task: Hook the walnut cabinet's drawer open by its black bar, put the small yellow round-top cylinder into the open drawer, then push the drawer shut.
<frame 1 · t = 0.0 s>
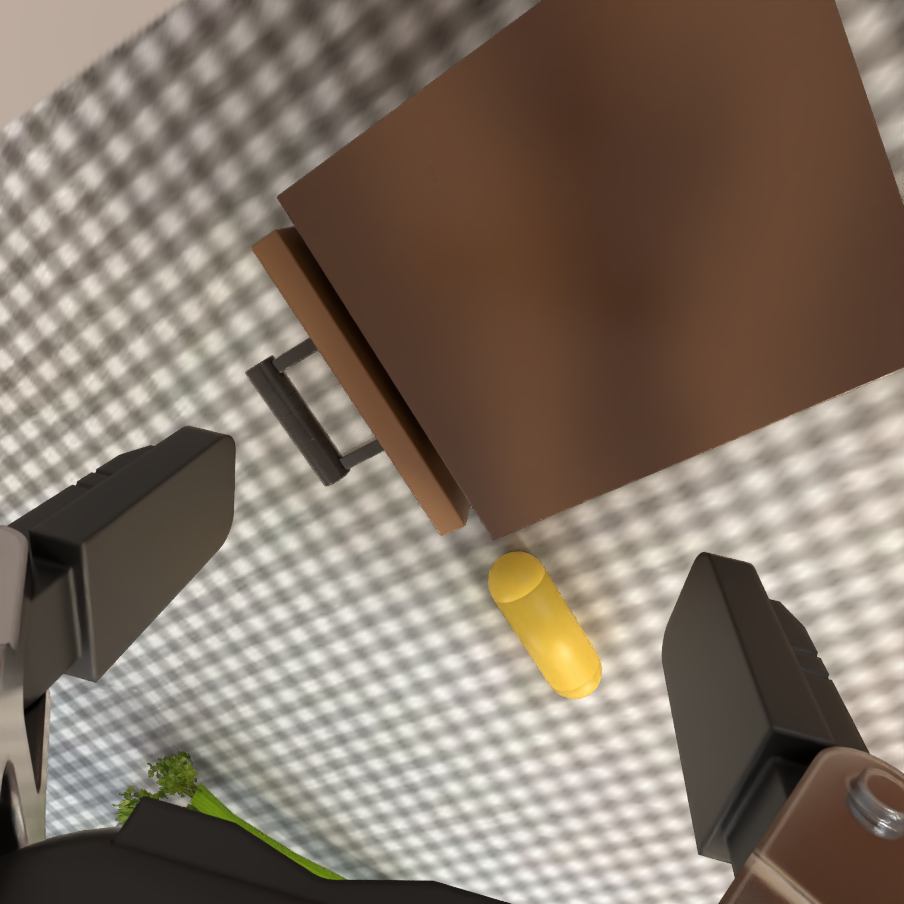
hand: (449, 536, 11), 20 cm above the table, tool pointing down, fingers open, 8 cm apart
cabinet: (591, 240, 27), on the table
celery stalk: (319, 839, 48), on the table
drawer: (477, 318, 25), point 5 cm above the table, slide at 1.0 cm
yellow round-top cylinder: (546, 607, 36), on the table
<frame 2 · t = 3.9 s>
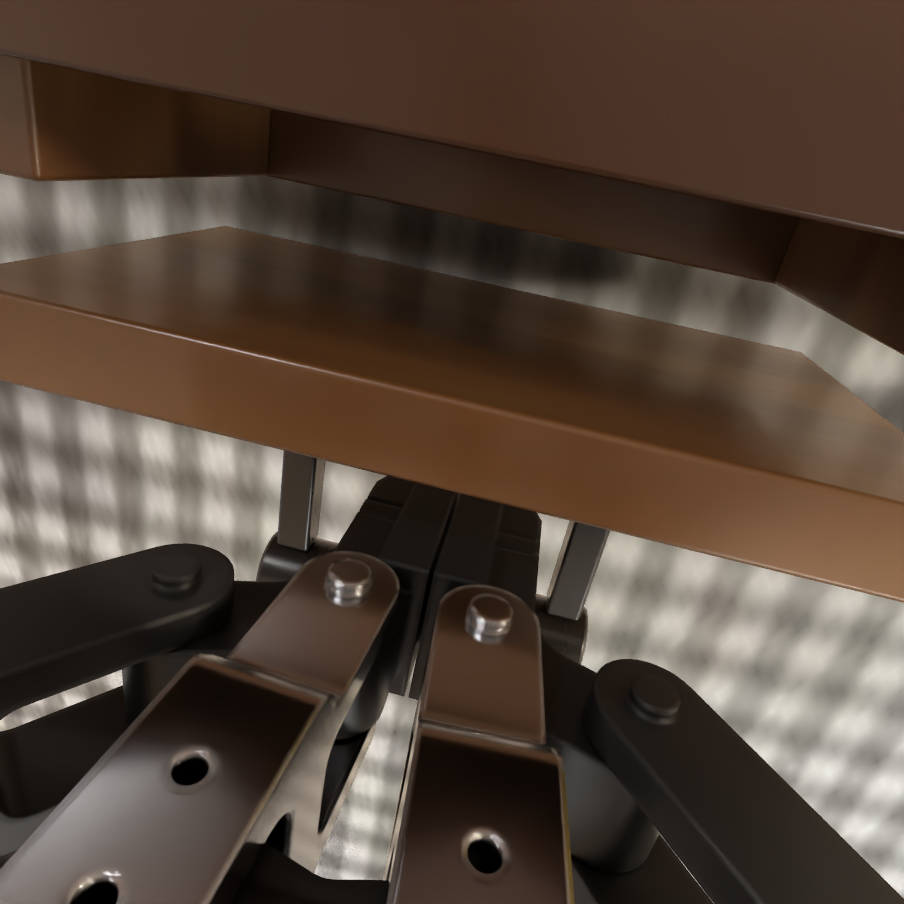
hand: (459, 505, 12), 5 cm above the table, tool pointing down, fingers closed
drawer: (537, 65, 9), point 5 cm above the table, slide at 2.5 cm, touching gripper
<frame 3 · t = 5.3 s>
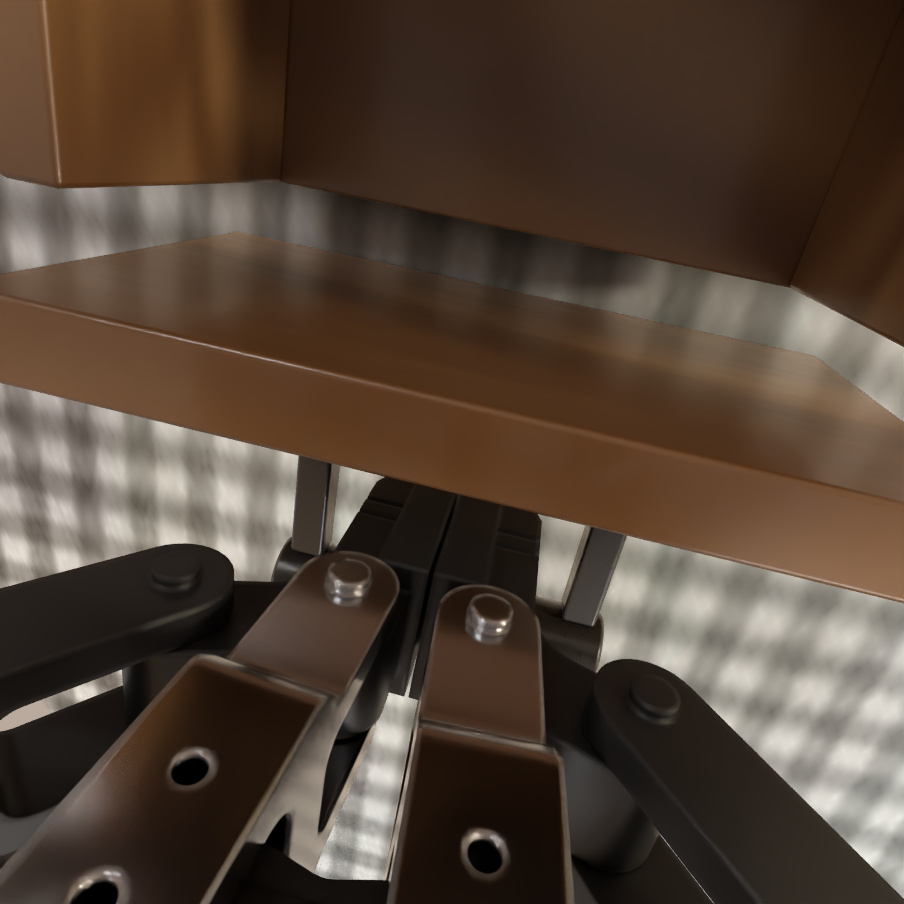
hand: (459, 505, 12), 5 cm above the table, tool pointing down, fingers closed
drawer: (554, 70, 9), point 5 cm above the table, slide at 7.3 cm
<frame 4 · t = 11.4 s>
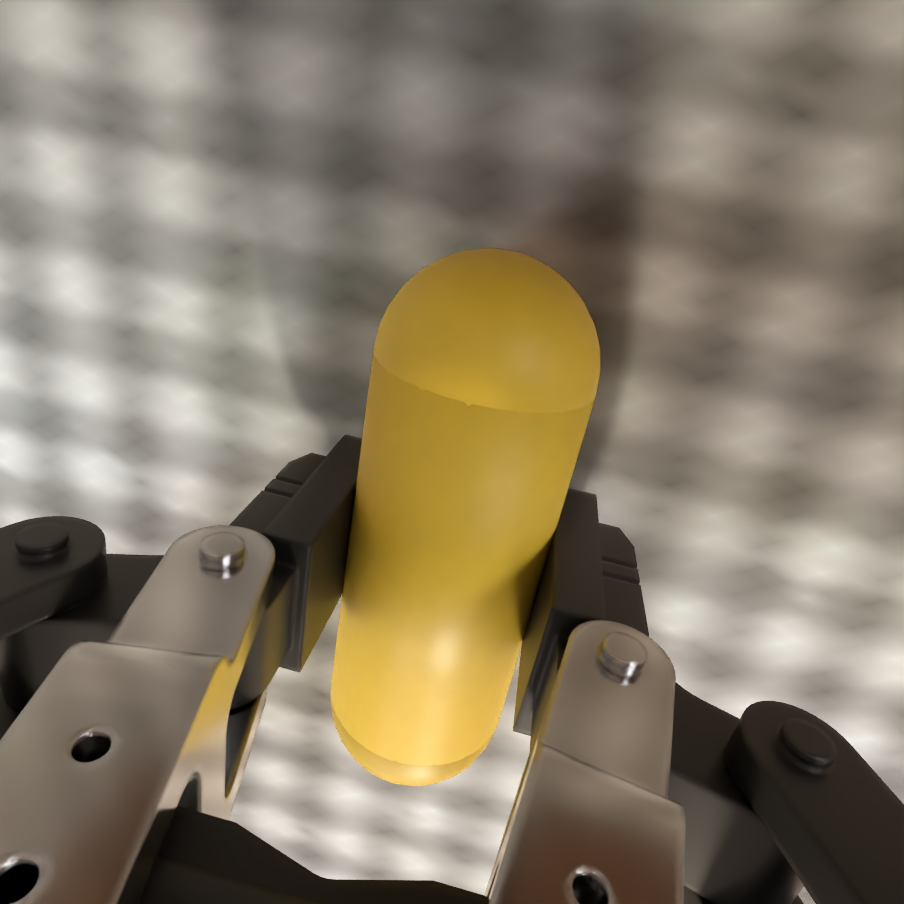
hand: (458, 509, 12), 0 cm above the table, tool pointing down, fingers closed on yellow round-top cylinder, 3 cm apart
yellow round-top cylinder: (446, 499, 12), on the table, tilted 11°, touching gripper
when the fingers open (8 cm above the table, at t = 20.8 s): yellow round-top cylinder drops 6 cm, resting on drawer.
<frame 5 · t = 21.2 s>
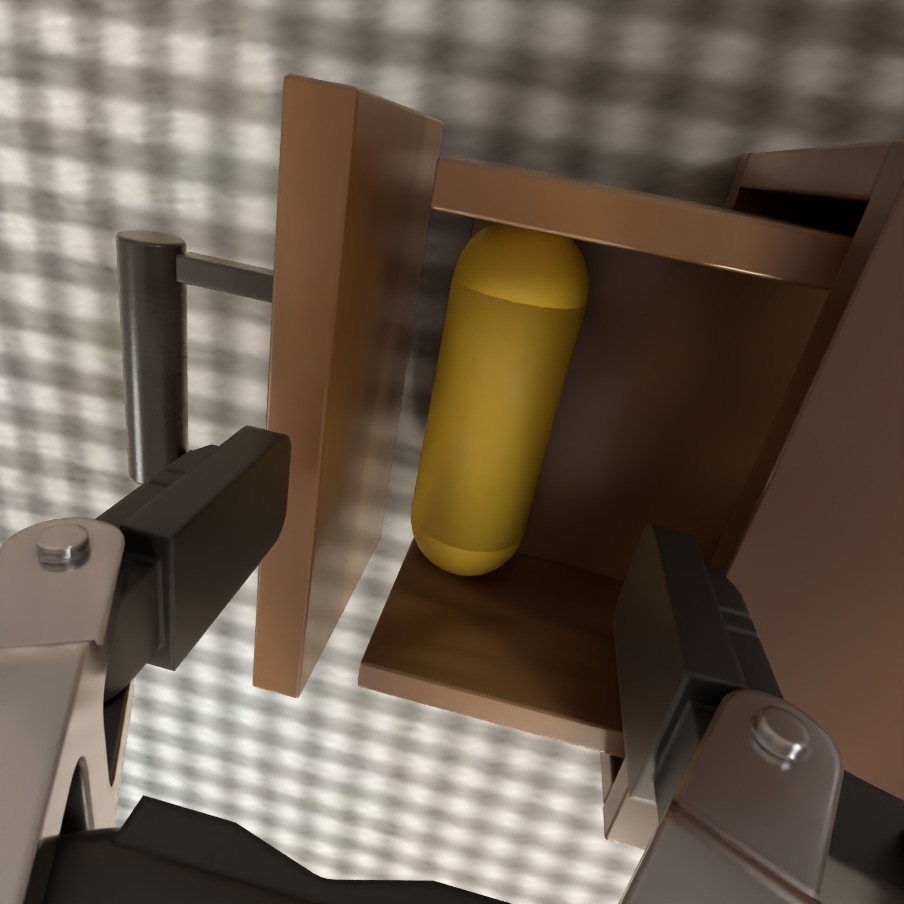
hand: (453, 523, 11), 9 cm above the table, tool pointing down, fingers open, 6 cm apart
drawer: (520, 435, 15), point 5 cm above the table, slide at 7.5 cm, touching yellow round-top cylinder
yellow round-top cylinder: (488, 391, 17), point 2 cm above the table, tilted 10°, touching drawer
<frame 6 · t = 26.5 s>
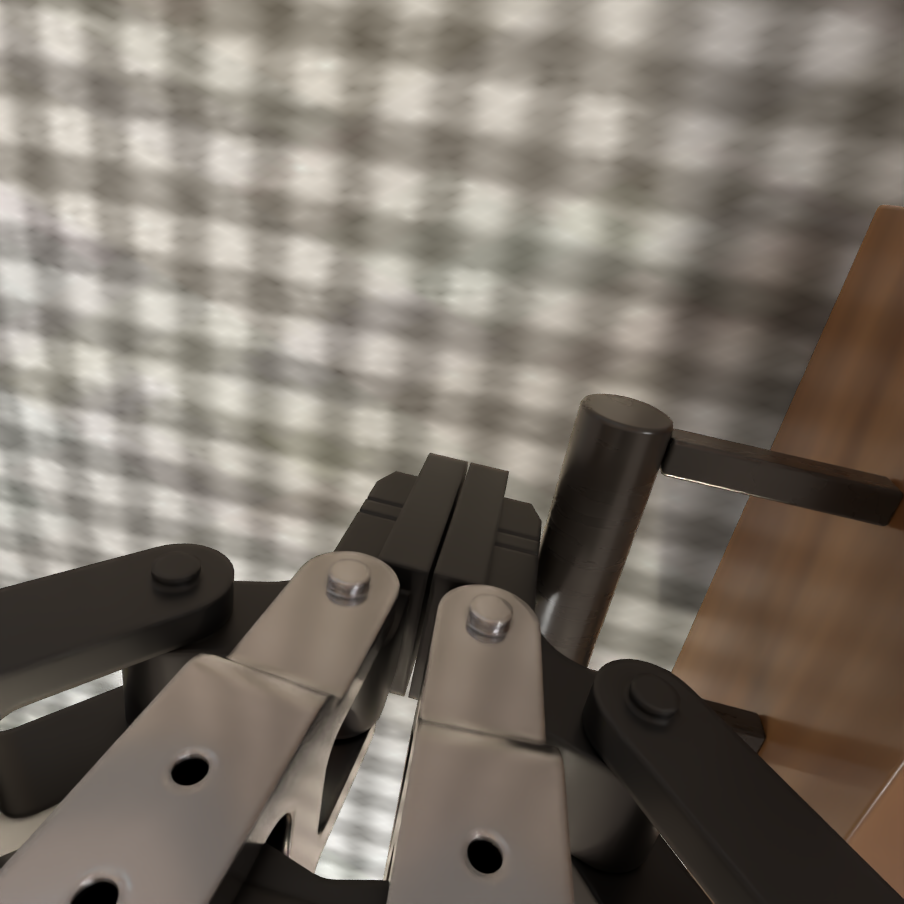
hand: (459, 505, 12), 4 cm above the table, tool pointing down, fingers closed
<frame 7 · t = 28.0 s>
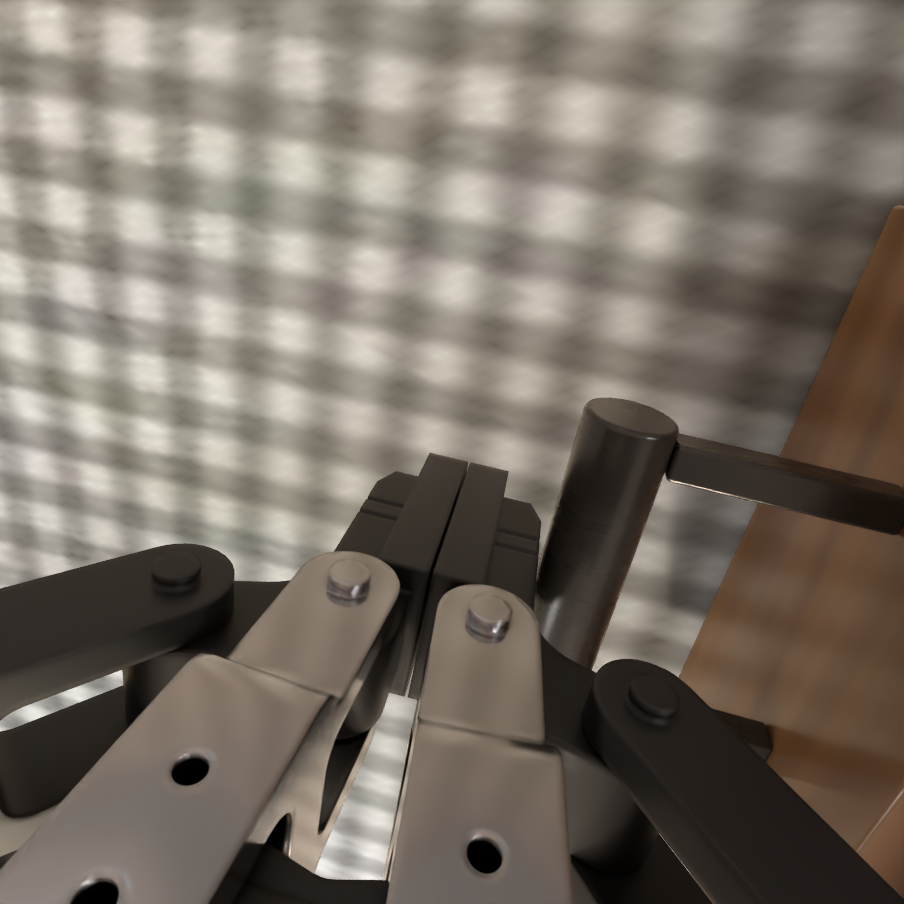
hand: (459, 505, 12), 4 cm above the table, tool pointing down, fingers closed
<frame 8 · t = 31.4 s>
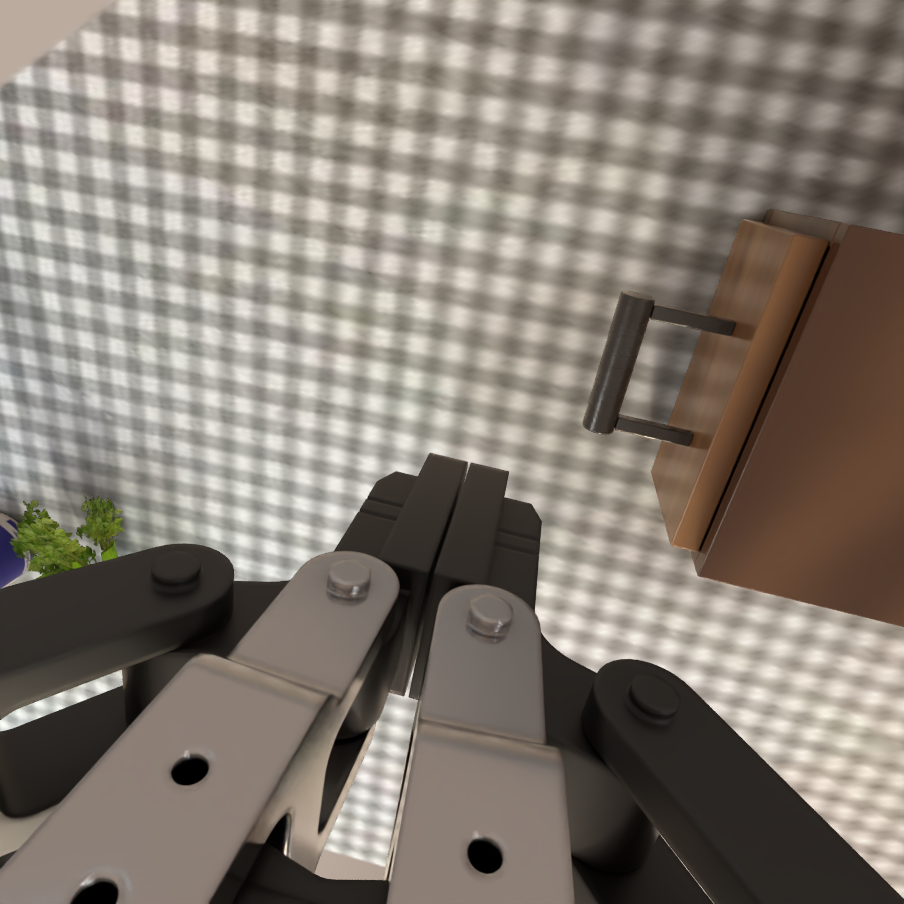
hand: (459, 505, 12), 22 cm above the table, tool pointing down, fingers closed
cabinet: (872, 392, 31), on the table
celery stalk: (175, 647, 46), on the table
drawer: (820, 404, 27), point 5 cm above the table, slide at 0.0 cm, touching yellow round-top cylinder, cabinet
energy drink: (6, 539, 45), on the table
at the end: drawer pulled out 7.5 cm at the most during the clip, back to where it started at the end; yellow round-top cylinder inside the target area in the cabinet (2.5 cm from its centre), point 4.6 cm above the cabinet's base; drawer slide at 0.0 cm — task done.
